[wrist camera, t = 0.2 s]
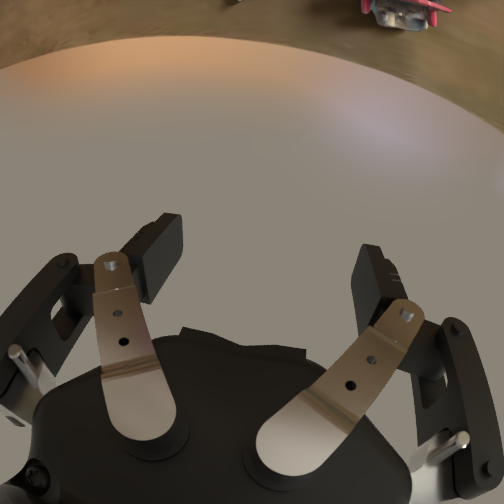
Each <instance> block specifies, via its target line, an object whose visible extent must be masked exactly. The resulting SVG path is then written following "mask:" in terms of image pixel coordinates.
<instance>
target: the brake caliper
mask: <svg viewBox="0 0 504 504" xmlns="http://www.w3.org/2000/svg"><path fill="white" fill-rule="evenodd" d="M370 10H372V12H373V13H374V15H375V17H376V21H377V23H378V25H380V26H385V27H396V28H400V29H404V30H407V31H412V32H420V31H423V30H426V29H427V27H428V24H429V25H431V26H433V27H436V26H437V11H439V10H440V11H443V12H446V13H451V12H452V10H451V9H449V8H447V7H444V6H441V5H440V0H361V12H362V13H363V14H368V13H369V12H370Z"/></svg>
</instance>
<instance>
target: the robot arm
mask: <svg viewBox="0 0 504 504" xmlns="http://www.w3.org/2000/svg"><path fill="white" fill-rule="evenodd" d="M182 251H183V231H182V217H181V215H180V214H172V213H163V214H162V215H161V216H160V217H159V218H158V219H157V220H156V221H155V222H151V223H149V224H147V225H145V226H143V227H142V228H141V229H140V230H139V231H138V233H136V234H135V236H133V238H131V239H130V240H129V242H128V243H126V244H125V246H124V247H123V248H122V249H121V250H120V251H119V252H109V253H105V254H103V255H101V256H100V257H98V258H97V259H96V260H95V262H94V264H79V262H78V258H77V256H76V255H75V254H73V253H63V254H60V255H57V256H55V257H54V258H52V259H51V260H50V261H49V262H48V263H47V264H46V265H45V267H43V269H42V270H41V271H40V272H39V273H38V274H37V275H36V276H35V277H34V278H33V279H32V280H31V281H30V282H29V283H28V285H27V286H26V287H25V288H24V289H23V290H22V292H21V293H20V294H19V295H18V296H17V297H16V298H15V299H14V301H13V302H12V303H11V304H10V305H9V307H8V308H7V309H6V310H5V311H4V313H3V314H2V315H1V316H0V413H1V414H2V415H4V416H5V417H6V418H8V419H9V420H10V421H11V422H12V423H13V424H15V425H16V426H19V427H24V426H27V427H29V428H30V429H32V437H31V447H30V452H29V457H28V460H27V462H26V464H25V466H24V467H23V469H22V470H21V471H20V472H19V473H18V474H16V475H15V476H14V477H13V478H11V479H10V480H8V481H7V482H5V483H3V484H1V485H0V504H461V503H464V502H466V501H468V500H470V499H473V498H475V497H477V496H480V495H482V494H484V493H486V492H488V491H490V490H492V489H494V488H496V487H497V486H498V485H499V484H500V482H501V481H502V478H503V476H504V456H503V449H502V442H501V436H500V431H499V426H498V421H497V416H496V412H495V407H494V404H493V399H492V396H491V392H490V388H489V385H488V381H487V378H486V375H485V371H484V368H483V365H482V362H481V359H480V357H479V353H478V351H477V348H476V345H475V342H474V340H473V337H472V335H471V332H470V330H469V328H468V327H467V325H466V324H465V323H463V322H462V321H461V320H459V319H457V318H454V317H448V318H446V319H445V320H444V321H443V323H442V324H441V326H440V325H438V324H435V323H432V322H430V321H427V320H425V319H424V318H425V317H424V313H423V311H422V309H421V308H420V307H419V306H418V305H416V304H415V303H414V302H412V301H410V300H408V297H407V294H406V292H405V289H404V287H403V284H402V282H401V279H400V276H398V271H397V269H396V267H395V266H394V265H393V263H392V262H391V261H390V260H389V259H385V258H384V256H383V253H382V251H381V248H380V247H379V246H374V245H369V244H363V245H362V246H361V249H360V252H359V255H358V258H357V261H356V264H355V267H354V270H353V273H352V278H351V289H352V295H353V301H354V307H355V314H356V320H357V327H358V335H359V337H358V338H357V340H356V341H355V342H354V343H353V344H352V345H351V346H350V347H349V348H348V349H347V350H346V351H345V353H344V354H343V355H342V356H341V357H340V358H339V359H338V360H337V361H336V362H335V363H334V364H333V365H332V366H331V367H330V368H329V369H328V370H326V369H325V368H324V367H322V366H320V365H319V364H317V363H315V362H313V361H311V360H308V359H306V349H300V348H293V347H287V346H280V345H257V346H242V345H239V344H236V343H234V342H231V341H229V340H227V339H224V338H222V337H220V336H217V335H215V334H213V333H208V332H204V331H200V330H195V329H191V328H186V327H182V329H181V332H180V334H179V335H173V336H172V335H171V336H163V337H159V338H155V339H153V340H151V338H150V335H149V332H148V328H147V325H146V322H145V318H144V315H143V312H142V308H141V305H140V302H142V303H146V304H151V303H152V302H153V300H154V298H155V297H156V295H157V294H158V292H159V290H160V289H161V287H162V286H163V284H164V282H165V281H166V279H167V278H168V276H169V275H170V273H171V271H172V270H173V268H174V267H175V265H176V264H177V262H178V261H179V259H180V257H181V255H182ZM59 298H60V300H61V303H62V307H61V308H60V310H59V311H58V312H57V314H56V315H55V317H54V318H53V319H52V320H51V310H52V308H53V306H54V305H55V304H56V302H57V301H58V300H59ZM92 316H94V319H95V327H96V335H97V343H98V350H99V356H100V362H101V365H100V366H98V367H97V368H94V369H92V370H90V371H88V372H86V373H85V374H82V375H80V376H78V377H76V378H74V379H72V380H70V381H68V382H66V383H64V384H62V385H60V386H57V387H55V385H56V382H55V377H56V375H57V373H58V372H59V370H60V368H61V366H62V365H63V363H64V361H65V359H66V358H67V356H68V354H69V353H70V351H71V349H72V348H73V346H74V344H75V343H76V341H77V340H78V338H79V336H80V334H81V333H82V332H83V330H84V328H85V327H86V325H87V324H88V322H89V321H90V319H91V317H92ZM396 369H399V370H402V371H405V372H408V373H410V375H411V381H412V389H413V396H414V405H415V415H416V426H417V439H418V448H417V449H415V450H414V452H413V453H412V455H411V458H410V462H409V466H407V465H406V463H405V462H404V460H403V459H402V458H401V457H400V456H399V455H398V453H397V452H396V451H395V450H394V449H393V447H392V446H391V445H390V444H389V442H388V441H387V440H386V439H385V438H384V436H383V435H382V434H381V433H380V432H379V430H378V429H377V428H376V427H375V426H374V424H373V423H372V422H371V421H370V420H369V418H368V417H367V416H366V415H365V413H366V411H367V410H368V409H369V407H370V406H371V404H372V403H373V402H374V401H375V399H376V398H377V396H378V395H379V393H380V392H381V391H382V389H383V388H384V387H385V385H386V384H387V382H388V381H389V379H390V378H391V376H392V375H393V373H394V372H395V370H396ZM445 372H446V374H447V379H448V384H447V388H446V383H445V379H444V373H445Z"/></svg>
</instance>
